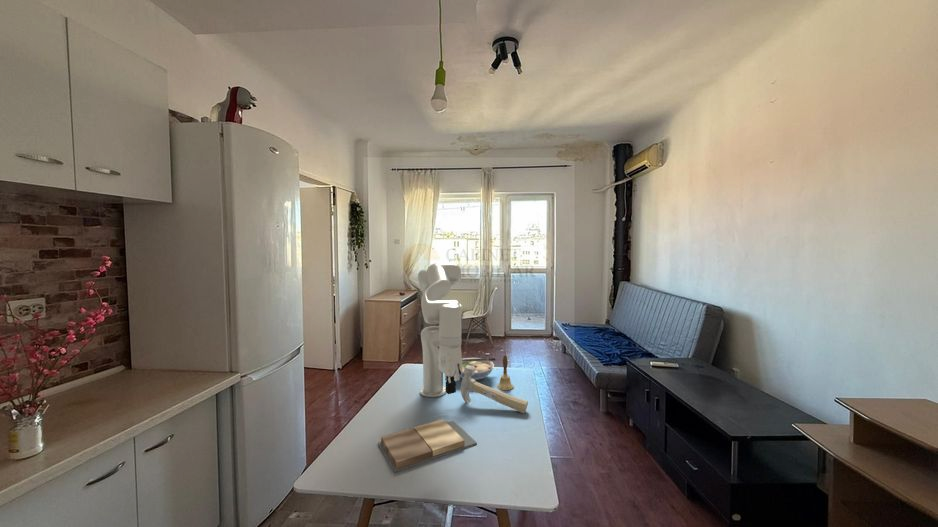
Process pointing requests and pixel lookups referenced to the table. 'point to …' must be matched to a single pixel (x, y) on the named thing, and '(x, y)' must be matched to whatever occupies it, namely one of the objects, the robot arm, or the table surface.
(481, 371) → the ramen bowl
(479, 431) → the table surface
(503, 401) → the hammer
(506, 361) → the hand bell
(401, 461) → the floor section
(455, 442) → the oak plank
